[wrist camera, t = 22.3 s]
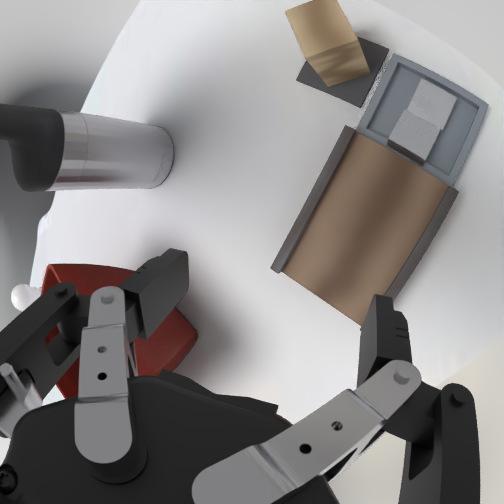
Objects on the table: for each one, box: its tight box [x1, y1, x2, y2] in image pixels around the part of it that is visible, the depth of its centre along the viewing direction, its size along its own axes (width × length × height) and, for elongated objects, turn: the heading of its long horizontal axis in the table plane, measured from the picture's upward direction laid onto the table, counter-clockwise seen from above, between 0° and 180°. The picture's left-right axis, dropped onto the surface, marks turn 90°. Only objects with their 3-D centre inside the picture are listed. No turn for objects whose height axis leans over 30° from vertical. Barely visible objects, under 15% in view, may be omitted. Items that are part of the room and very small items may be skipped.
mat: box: [296, 36, 389, 108], centre depth 29 cm, size 8×8×1 cm
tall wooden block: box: [285, 0, 371, 87], centre depth 25 cm, size 5×6×8 cm
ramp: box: [271, 125, 459, 331], centre depth 29 cm, size 12×16×4 cm
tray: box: [356, 54, 489, 187], centre depth 26 cm, size 11×10×2 cm
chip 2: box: [387, 109, 440, 166], centre depth 26 cm, size 4×4×2 cm
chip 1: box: [407, 78, 457, 133], centre depth 25 cm, size 4×4×2 cm
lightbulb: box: [11, 284, 42, 311], centre depth 60 cm, size 6×6×11 cm
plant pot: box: [40, 264, 198, 399], centre depth 40 cm, size 19×19×17 cm
